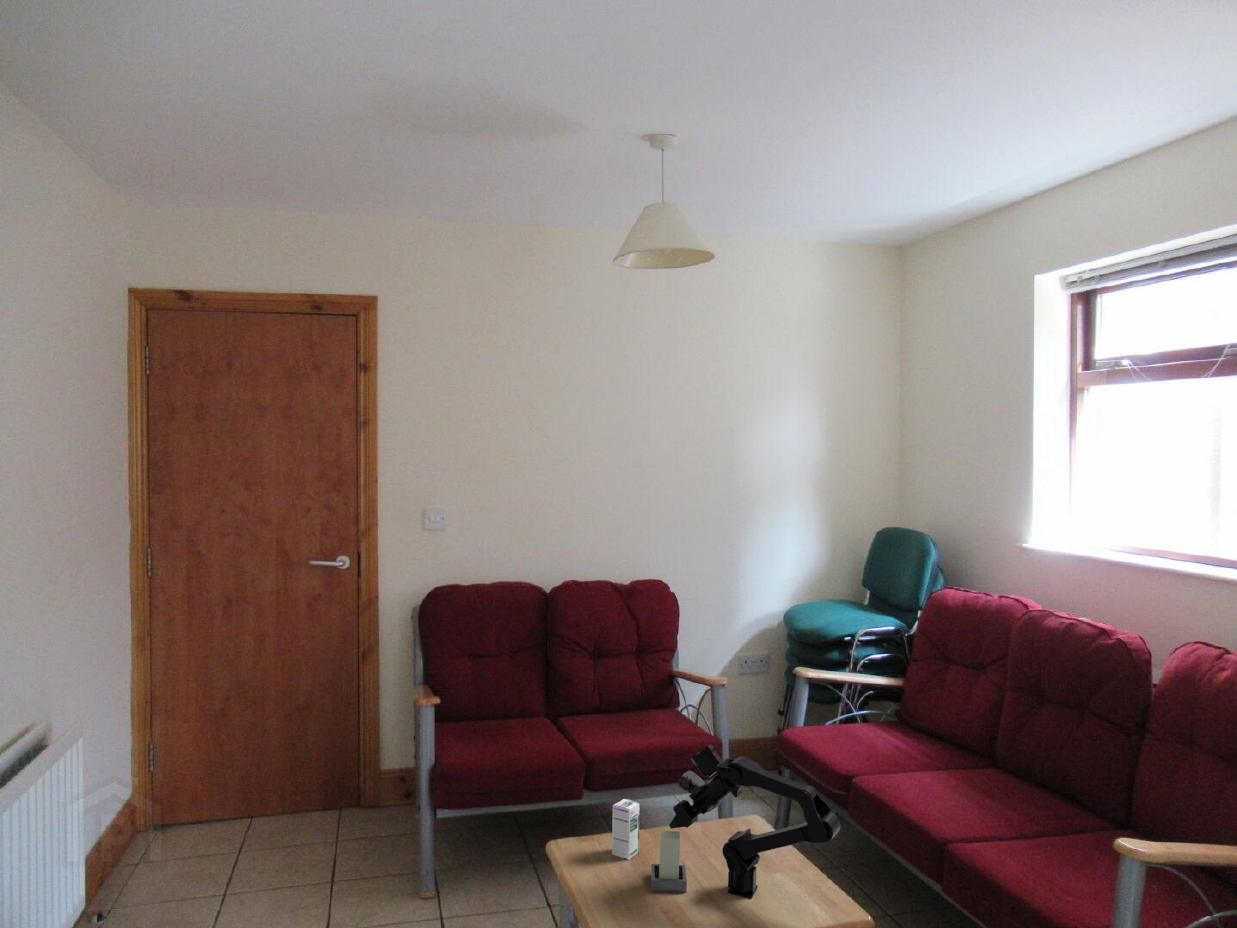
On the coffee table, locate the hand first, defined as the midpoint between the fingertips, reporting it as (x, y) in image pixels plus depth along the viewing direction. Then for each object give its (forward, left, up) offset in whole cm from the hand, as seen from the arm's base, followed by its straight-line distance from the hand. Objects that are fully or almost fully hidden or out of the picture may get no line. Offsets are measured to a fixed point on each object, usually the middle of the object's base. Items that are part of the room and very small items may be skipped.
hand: (678, 820), depth 245 cm
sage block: (0, +8, -14) cm, 16 cm away
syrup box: (+17, -3, -14) cm, 22 cm away
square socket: (0, +8, -14) cm, 16 cm away
